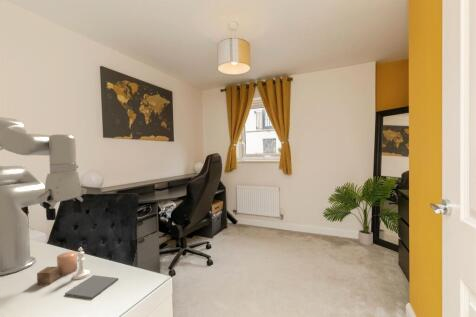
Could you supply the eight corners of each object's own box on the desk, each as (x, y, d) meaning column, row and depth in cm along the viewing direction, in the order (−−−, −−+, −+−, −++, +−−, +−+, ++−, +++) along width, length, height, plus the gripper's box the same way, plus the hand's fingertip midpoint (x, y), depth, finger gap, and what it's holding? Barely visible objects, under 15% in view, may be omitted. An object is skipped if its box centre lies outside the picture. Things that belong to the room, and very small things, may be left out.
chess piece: (81, 280, 74) (80, 250, 74) (69, 278, 75) (68, 249, 75) (93, 272, 79) (92, 244, 79) (82, 271, 80) (81, 244, 80)
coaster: (64, 295, 66) (64, 293, 66) (93, 276, 76) (93, 275, 76) (92, 299, 64) (92, 297, 64) (118, 279, 74) (118, 278, 74)
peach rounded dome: (53, 274, 78) (52, 257, 78) (68, 266, 84) (68, 251, 84) (66, 276, 77) (65, 259, 77) (80, 267, 83) (80, 252, 82)
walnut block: (37, 285, 72) (36, 273, 72) (47, 278, 76) (47, 267, 76) (50, 284, 72) (49, 272, 72) (59, 277, 76) (59, 266, 76)
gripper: (77, 167, 89) (79, 209, 89) (28, 170, 72) (30, 222, 72) (92, 167, 87) (94, 210, 88) (45, 170, 70) (48, 223, 71)
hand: (65, 215), depth 80 cm, fingers open, 9 cm apart
